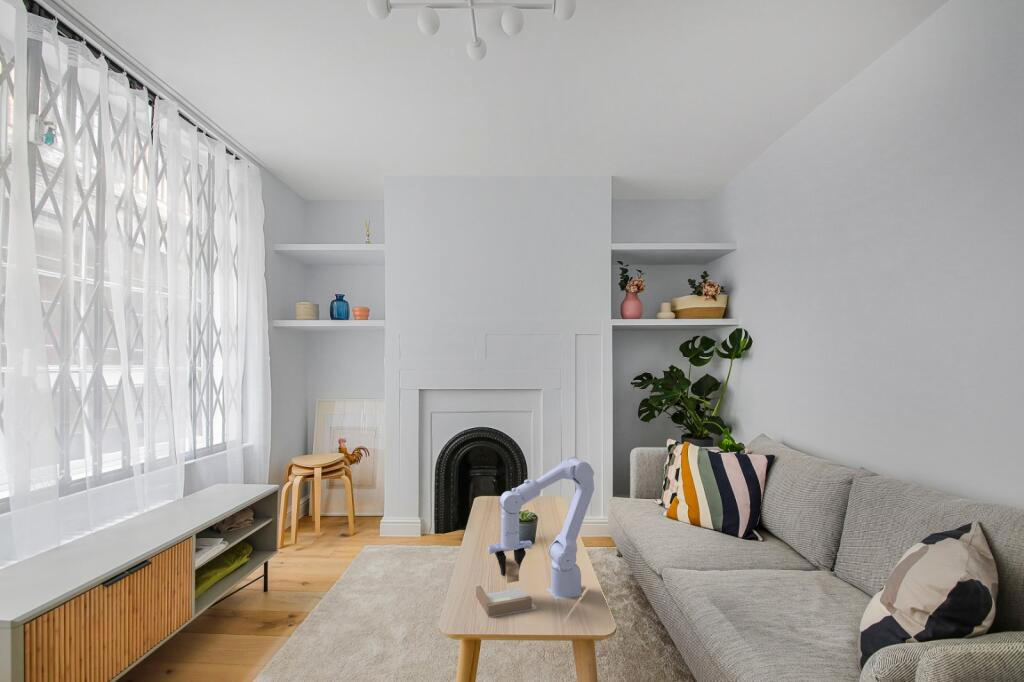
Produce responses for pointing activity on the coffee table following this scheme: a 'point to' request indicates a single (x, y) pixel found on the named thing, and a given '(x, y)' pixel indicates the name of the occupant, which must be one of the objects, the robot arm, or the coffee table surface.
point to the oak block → (511, 571)
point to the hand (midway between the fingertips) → (509, 573)
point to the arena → (504, 601)
